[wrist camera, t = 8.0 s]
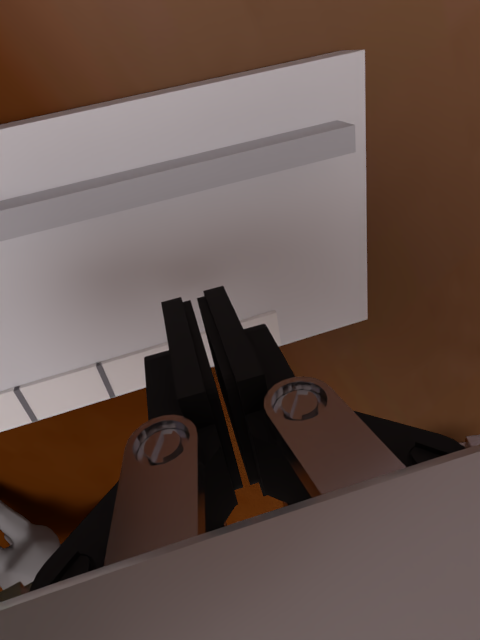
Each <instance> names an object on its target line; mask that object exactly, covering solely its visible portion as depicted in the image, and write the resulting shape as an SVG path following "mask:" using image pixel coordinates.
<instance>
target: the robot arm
mask: <svg viewBox="0 0 480 640" xmlns="http://www.w3.org/2000/svg"><path fill="white" fill-rule="evenodd" d="M203 293H204V296H203V297H199V298H197V301H198V305H199V309H200V313H201V316H202V320H203V324H204V328H205V332H206V336H207V339H208V343H209V347H210V351H211V355H212V359H213V362H214V366H215V370H216V374H217V378H218V381H219V385H220V388H221V392H222V395H223V398H224V401H225V404H226V408H227V411H228V414H229V417H230V421H231V424H232V427H233V430H234V434H235V437H236V440H237V443H238V447H239V450H240V453H241V456H242V460H243V463H244V466H245V469H246V473H247V476H248V479H249V482H250V485H252V484H255V483H258V482H259V484H260V487H261V490H262V493H263V496H266V495H269V496H271V497H274V498H276V499H278V500H281V501H283V505H284V507H283V508H280V509H277V510H274V511H271V512H268V513H265V514H261V515H258V516H255V517H252V518H249V519H246V520H243V521H240V522H237V523H234V524H231V525H228V526H227V523H226V520H227V518H228V517H229V515H230V513H231V512H232V510H233V509H234V507H235V506H236V505H238V503H237V499H236V495H235V491H234V490H236V489H239V488H242V487H243V485H242V481H241V477H240V474H239V470H238V466H237V462H236V459H235V455H234V451H233V447H232V444H231V440H230V436H229V432H228V429H227V425H226V421H225V417H224V414H223V410H222V406H221V402H220V399H219V395H218V391H217V388H216V384H215V381H214V377H213V374H212V371H211V367H210V364H209V361H208V357H207V354H206V350H205V347H204V344H203V340H202V337H201V334H200V330H199V327H198V323H197V320H196V317H195V313H194V310H193V307H192V303H191V300H188V301H185V302H183V301H182V298H181V297H179V298H175V299H171V300H167V301H164V302H161V305H162V311H163V317H164V323H165V329H166V335H167V341H168V347H169V350H167V351H164V352H160V353H157V354H153V355H149V356H146V357H144V366H145V379H146V392H147V405H148V418H149V421H148V422H146V423H144V424H142V425H141V426H140V427H139V428H138V429H136V430H135V431H134V432H133V434H132V435H131V436H130V438H129V439H128V442H127V444H126V447H125V451H124V457H123V462H122V468H121V473H120V479H119V481H118V482H117V483H116V484H115V486H114V487H113V488H112V489H111V490H110V491H109V492H108V493H107V494H106V496H105V497H104V498H103V499H102V500H101V501H100V502H99V503H98V504H97V506H96V507H95V508H94V509H93V510H92V511H91V512H90V513H89V514H88V515H87V517H86V518H85V519H84V520H83V521H82V522H81V523H80V524H79V525H78V527H77V528H76V529H75V530H74V531H73V532H72V533H71V534H70V535H69V537H68V538H67V539H66V540H65V541H64V542H63V543H62V544H61V545H60V546H59V548H58V549H57V550H56V551H55V552H54V553H53V554H52V555H51V556H50V558H49V559H48V560H47V561H46V562H45V563H44V565H43V566H42V568H41V569H40V570H39V572H38V573H37V574H36V576H35V579H34V581H33V582H31V583H29V584H27V585H26V586H24V585H23V584H22V583H21V581H20V582H18V583H16V584H14V585H12V586H10V587H8V588H7V589H5V590H3V591H1V592H0V640H480V435H474V436H466V440H465V442H463V443H458V442H456V441H455V440H453V439H451V438H449V437H446V436H443V435H441V434H437V433H433V432H430V431H426V430H422V429H419V428H415V427H411V426H408V425H404V424H400V423H397V422H393V421H389V420H385V419H382V418H378V417H374V416H371V415H367V414H363V413H360V412H356V411H353V410H352V409H351V408H350V407H349V406H348V405H347V404H346V403H345V402H344V401H343V400H342V399H341V398H340V397H339V396H338V395H337V393H336V392H335V391H334V390H333V389H332V388H331V387H330V386H328V385H327V384H326V383H324V382H323V381H321V380H318V379H316V378H311V377H304V376H303V377H295V376H294V374H293V372H292V370H291V368H290V367H289V365H288V363H287V361H286V360H285V358H284V356H283V354H282V352H281V351H280V349H279V347H278V345H277V343H276V342H275V340H274V338H273V336H272V335H271V333H270V331H269V329H268V327H267V326H266V324H260V325H257V326H253V327H250V328H246V329H243V327H242V325H241V323H240V321H239V319H238V316H237V314H236V312H235V310H234V308H233V306H232V303H231V301H230V299H229V297H228V295H227V293H226V291H225V288H224V286H220V287H216V288H212V289H209V290H205V291H203Z"/></svg>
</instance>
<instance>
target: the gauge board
mask: <svg viewBox="0 0 480 640" xmlns="http://www.w3.org/2000/svg"><path fill="white" fill-rule="evenodd" d="M220 286H224V288H225V291H226V293H227V295H228V297H229V299H230V301H231V303H232V306H233V308H234V310H235V312H236V314H237V316H238V319H239V321H240V323H241V325H242V327H243V329H246V328H250V327H253V326H257V325H260V324H266V326H267V327H268V329H269V331H270V333H271V335H272V336H273V338H274V340H275V342H276V343H277V345H278V347H279V346H282V345H285V344H289V343H292V342H295V341H298V340H302V339H305V338H308V337H311V336H315V335H318V334H321V333H324V332H328V331H331V330H334V329H337V328H341V327H344V326H347V325H350V324H354V323H357V322H360V321H363V320H367V319H368V314H367V216H366V118H365V50H342V51H337V52H333V53H328V54H323V55H319V56H314V57H310V58H305V59H300V60H296V61H291V62H287V63H282V64H277V65H273V66H268V67H264V68H259V69H254V70H250V71H245V72H241V73H236V74H231V75H227V76H222V77H218V78H213V79H208V80H204V81H199V82H194V83H190V84H185V85H181V86H176V87H171V88H167V89H162V90H158V91H153V92H148V93H144V94H139V95H135V96H130V97H125V98H121V99H116V100H112V101H107V102H102V103H98V104H93V105H89V106H84V107H79V108H75V109H70V110H66V111H61V112H56V113H52V114H47V115H42V116H38V117H33V118H29V119H24V120H19V121H15V122H10V123H6V124H1V125H0V432H3V431H6V430H9V429H12V428H16V427H19V426H22V425H25V424H29V423H32V422H35V421H38V420H42V419H45V418H48V417H51V416H55V415H58V414H61V413H64V412H68V411H71V410H74V409H77V408H81V407H84V406H87V405H90V404H94V403H97V402H100V401H103V400H107V399H110V398H113V397H116V396H120V395H123V394H126V393H129V392H133V391H136V390H139V389H142V388H146V379H145V366H144V357H146V356H149V355H153V354H157V353H160V352H164V351H167V350H169V347H168V341H167V335H166V329H165V323H164V317H163V311H162V305H161V302H164V301H167V300H171V299H175V298H179V297H181V298H182V301H183V302H185V301H188V300H191V303H192V307H193V310H194V313H195V317H196V320H197V323H198V327H199V330H200V334H201V337H202V340H203V344H204V347H205V350H206V354H207V357H208V361H209V364H210V367H214V362H213V359H212V355H211V351H210V347H209V343H208V339H207V336H206V332H205V328H204V324H203V320H202V316H201V313H200V309H199V305H198V301H197V298H199V297H203V296H204V293H203V291H205V290H209V289H212V288H216V287H220Z"/></svg>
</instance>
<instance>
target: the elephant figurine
mask: <svg viewBox="0 0 480 640" xmlns="http://www.w3.org/2000/svg"><path fill="white" fill-rule="evenodd" d="M0 530H2V531H3V532H4V533H5V534H4V535H5V539H6V540H7V541H8V543H9V544H10V546H9V547H7V548H5V549H4V548H2V547H1V546H0V586H1V588H2V589H3V590H5V589H7V588H8V587H10V586H12V585H14V584H16V583H18V582H20V581H21V583H22V584H23V585H24V586H26V585H27V584H29V583H31V582H33V581H34V579H35V576H36V574H37V573H38V572H39V570H40V569H41V568H42V566H43V565H44V563H45V562H46V561H47V560H48V559H49V558H50V556H51V555H52V554H53V553H54V552H55V551H56V550H57V549H58V548H59V546H60V543H59V539H58V537H57V535H56V534H55V533H54V532H53V531H52V529H50V528H48V527H47V526H43V525H34V524H32V523H30V522H29V521H28V520H27V519H26V518H25V517H23V516H22V515H20V514H19V513H17V512H16V511H14V510H13V509H11V508H10V507H9V506H7V505H6V504H5V503H3V502H2V501H1V500H0Z"/></svg>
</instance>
